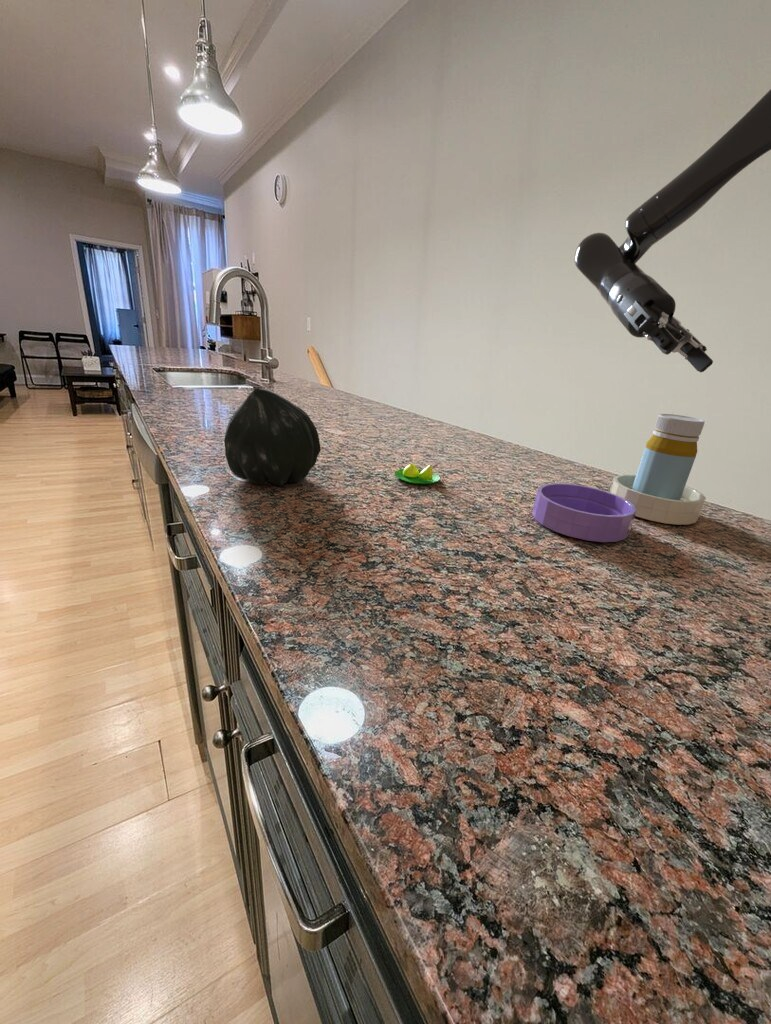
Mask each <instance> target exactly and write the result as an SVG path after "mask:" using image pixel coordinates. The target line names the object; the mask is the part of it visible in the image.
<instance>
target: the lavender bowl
mask: <svg viewBox="0 0 771 1024" xmlns="http://www.w3.org/2000/svg"><path fill="white" fill-rule="evenodd" d="M531 515H532V516H533V519H534V520H535V522H538V523H539V524H540V525H541V526H543V527H545V528H547V529H549V530H552V531H553V532H555V533H558V534H560V535H564V536H567V537H569V538H570V537H571V538H575V539H578V540H579V539H580V540H582V541H583V540H584V541H590V542H597V543H615V542H620V541H624V540H626V539H627V538H628V537H629V536H630V533H631V529H632V527H633V524H634V520H635V517H636V516H635V515H636V507H635V506H634V505H633V504H632V503H631V502H629V501H628V500H626V499H624V498H622V497H620V496H618V495H615V494H612V493H610V492H609V491H607V490H603V489H600V488H596V487H593V486H587V485H582V484H574V483H567V482H566V483H565V482H563V483H562V482H555V483H554V482H552V483H545V484H544V483H543V484H542V485H540V486H538V488H537V490H536V495H535V498H534V503H533V506H532V512H531Z"/></svg>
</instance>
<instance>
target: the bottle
mask: <svg viewBox="0 0 771 1024" xmlns="http://www.w3.org/2000/svg"><path fill="white" fill-rule="evenodd" d="M704 427H705V420H704V419H701V418H698V417H693V416H687V415H680V414H673V413H659V414H658V416H657V418H656V421H655V425H654V429H653V431H652V435H651V437H650V438H649V439H648V441H647V442H645V443H646V444H645V447H644V449H643V453H642V457H641V459H640V462H639V465H638V468H637V472H636V474H635V475H636V478H635V481H634V484H633V487H632V490H635V491H638V492H641V493H644V494H648V495H651V496H655V497H660V498H665V499H671V500H679V501H680V499H681V496H682V493H683V491H684V488H685V486H687V483H688V480H689V477H690V473H691V472H692V468H693V466H694V463H695V460H696V457H697V454H698V442H699V439H700V435H701V434H702V431H703V428H704Z"/></svg>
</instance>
